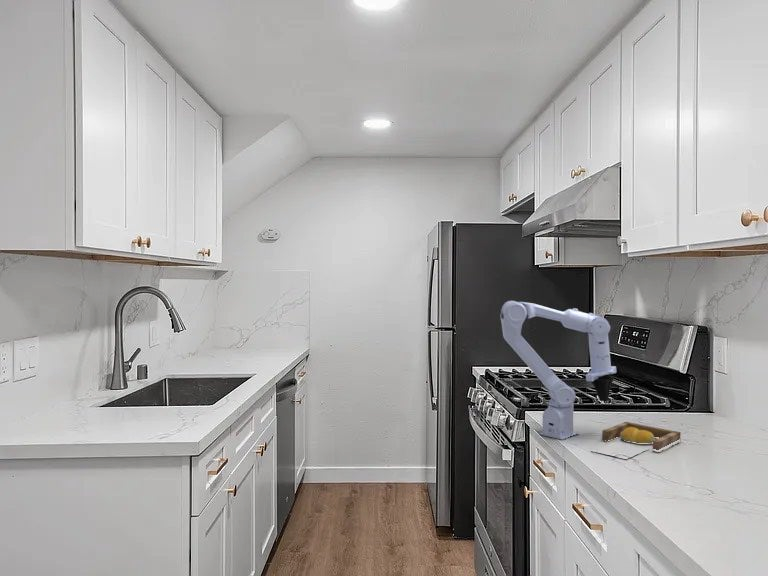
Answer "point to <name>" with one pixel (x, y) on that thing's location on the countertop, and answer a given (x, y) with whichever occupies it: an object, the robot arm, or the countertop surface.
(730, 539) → the countertop surface
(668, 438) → the frame
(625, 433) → the bread roll
